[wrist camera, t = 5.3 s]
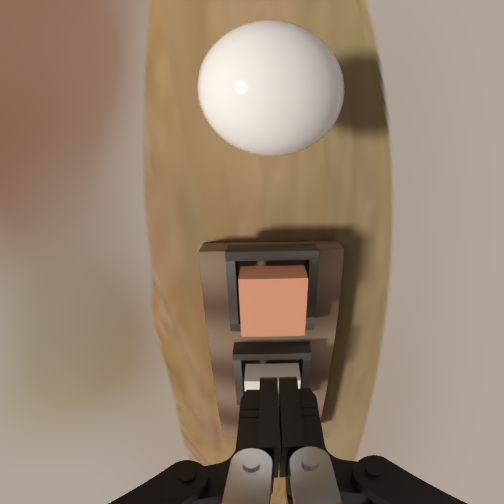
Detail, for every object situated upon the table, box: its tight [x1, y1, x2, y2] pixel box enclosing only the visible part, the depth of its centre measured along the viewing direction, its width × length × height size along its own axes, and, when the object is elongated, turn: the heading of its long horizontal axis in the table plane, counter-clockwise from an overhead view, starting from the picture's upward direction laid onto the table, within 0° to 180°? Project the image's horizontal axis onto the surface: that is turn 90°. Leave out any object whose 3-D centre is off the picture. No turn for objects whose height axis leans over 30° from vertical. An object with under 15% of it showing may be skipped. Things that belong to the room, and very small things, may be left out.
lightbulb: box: [198, 20, 344, 156], centre depth 14 cm, size 6×6×11 cm
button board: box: [199, 241, 344, 438], centre depth 24 cm, size 22×10×4 cm, turn 2°
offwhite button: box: [244, 363, 301, 392], centre depth 21 cm, size 4×4×2 cm
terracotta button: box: [238, 265, 308, 337], centre depth 19 cm, size 4×4×2 cm
